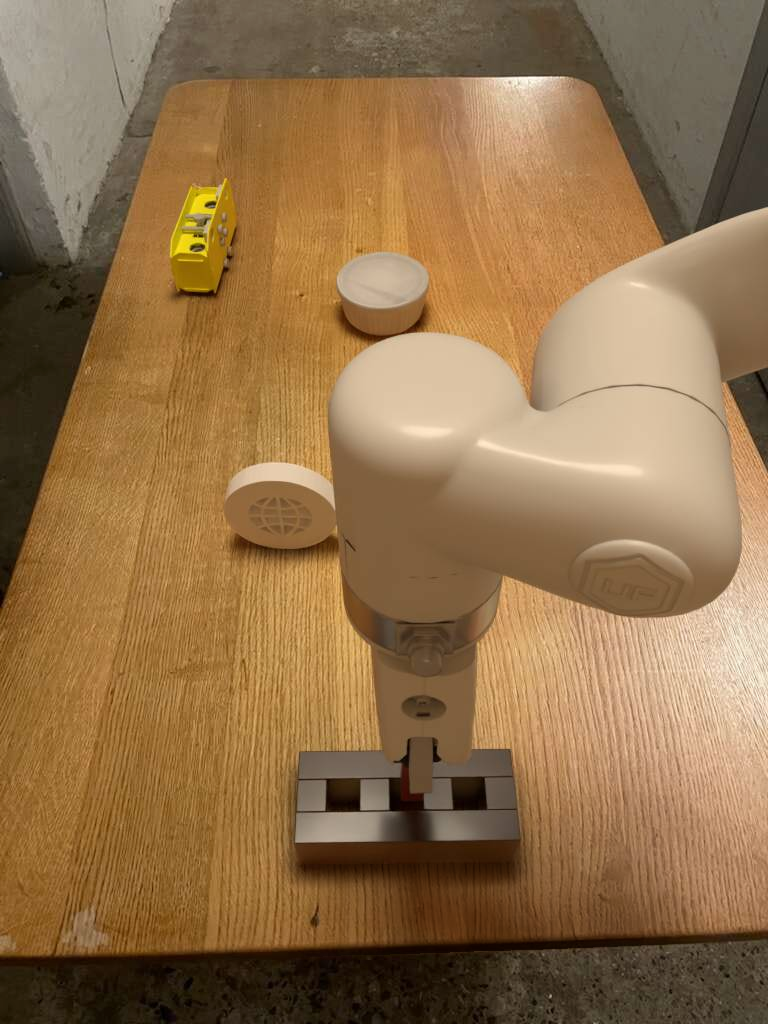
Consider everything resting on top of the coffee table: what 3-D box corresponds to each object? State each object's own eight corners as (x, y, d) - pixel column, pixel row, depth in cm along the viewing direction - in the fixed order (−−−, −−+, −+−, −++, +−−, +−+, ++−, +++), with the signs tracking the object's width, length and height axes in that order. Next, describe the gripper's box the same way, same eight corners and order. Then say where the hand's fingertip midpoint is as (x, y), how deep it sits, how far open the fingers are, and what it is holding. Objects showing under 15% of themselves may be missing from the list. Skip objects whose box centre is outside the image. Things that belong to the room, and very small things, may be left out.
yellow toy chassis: (220, 298, 106) (210, 240, 100) (176, 296, 106) (162, 238, 100) (240, 227, 116) (232, 170, 110) (200, 226, 116) (189, 169, 110)
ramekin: (337, 343, 100) (335, 307, 96) (338, 287, 108) (336, 251, 103) (430, 342, 101) (432, 306, 97) (424, 286, 108) (426, 250, 104)
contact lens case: (231, 547, 81) (216, 479, 73) (235, 529, 83) (219, 460, 75) (458, 553, 81) (466, 485, 73) (457, 535, 82) (465, 467, 74)
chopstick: (423, 801, 60) (431, 713, 49) (400, 801, 60) (403, 714, 49) (422, 779, 61) (429, 688, 50) (400, 779, 61) (402, 689, 50)
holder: (512, 862, 63) (521, 840, 59) (299, 864, 63) (293, 843, 59) (503, 773, 67) (510, 748, 63) (303, 776, 67) (298, 750, 63)
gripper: (520, 732, 34) (484, 867, 49) (485, 453, 44) (464, 634, 59) (338, 735, 34) (355, 869, 49) (344, 456, 44) (357, 636, 59)
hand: (414, 740), depth 53 cm, fingers closed on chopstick, 1 cm apart
